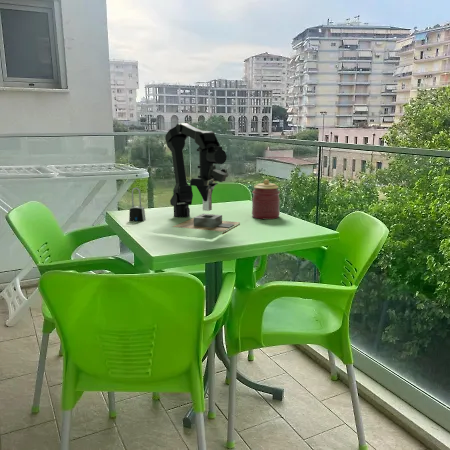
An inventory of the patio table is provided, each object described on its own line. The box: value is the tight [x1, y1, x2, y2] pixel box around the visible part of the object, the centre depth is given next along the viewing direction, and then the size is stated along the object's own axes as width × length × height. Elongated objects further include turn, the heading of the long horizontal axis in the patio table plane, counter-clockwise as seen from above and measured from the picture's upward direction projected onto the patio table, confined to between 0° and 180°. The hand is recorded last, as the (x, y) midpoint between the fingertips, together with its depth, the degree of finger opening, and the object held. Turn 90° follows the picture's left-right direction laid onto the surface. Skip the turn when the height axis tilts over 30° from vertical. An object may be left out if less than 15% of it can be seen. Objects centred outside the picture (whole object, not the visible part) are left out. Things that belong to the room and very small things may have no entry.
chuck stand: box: [172, 213, 241, 235], centre depth 175 cm, size 23×18×4 cm
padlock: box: [128, 187, 147, 222], centre depth 187 cm, size 7×4×15 cm, turn 86°
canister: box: [251, 179, 281, 220], centre depth 193 cm, size 13×13×18 cm
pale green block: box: [202, 186, 215, 212], centre depth 173 cm, size 6×3×10 cm, turn 66°
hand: (207, 200), depth 173 cm, fingers closed on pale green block, 3 cm apart
